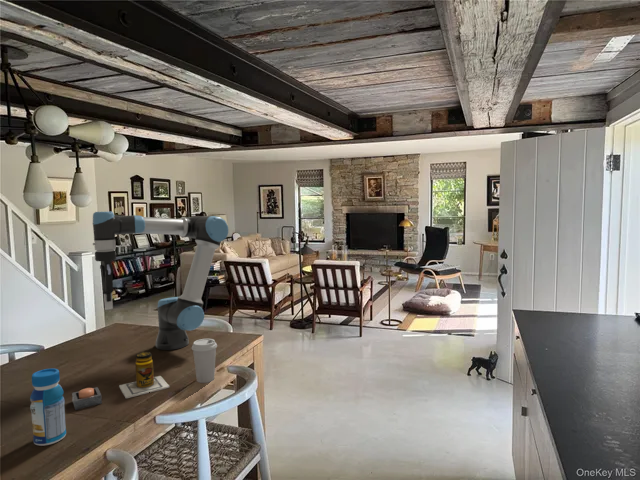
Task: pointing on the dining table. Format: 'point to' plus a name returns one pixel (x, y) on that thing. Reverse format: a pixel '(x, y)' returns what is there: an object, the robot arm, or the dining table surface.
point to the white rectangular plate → (133, 392)
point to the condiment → (144, 371)
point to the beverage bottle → (47, 407)
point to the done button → (86, 393)
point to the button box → (86, 400)
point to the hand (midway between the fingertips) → (108, 308)
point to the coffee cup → (204, 359)
